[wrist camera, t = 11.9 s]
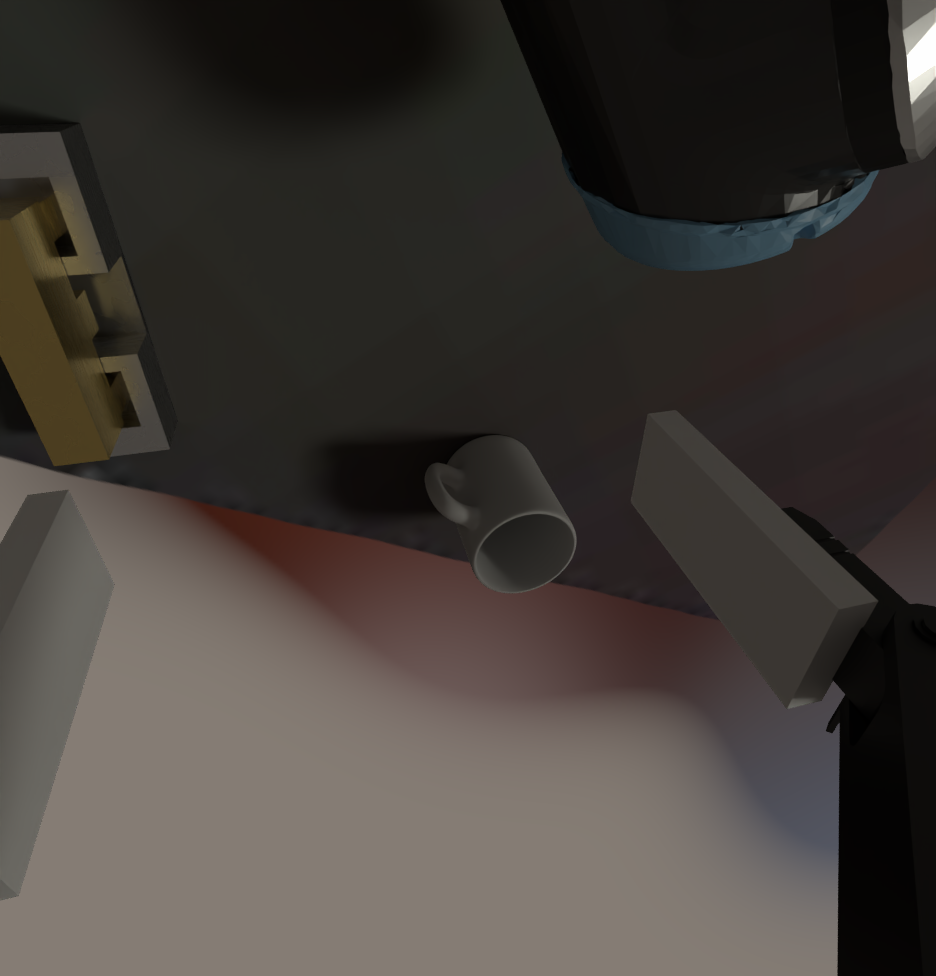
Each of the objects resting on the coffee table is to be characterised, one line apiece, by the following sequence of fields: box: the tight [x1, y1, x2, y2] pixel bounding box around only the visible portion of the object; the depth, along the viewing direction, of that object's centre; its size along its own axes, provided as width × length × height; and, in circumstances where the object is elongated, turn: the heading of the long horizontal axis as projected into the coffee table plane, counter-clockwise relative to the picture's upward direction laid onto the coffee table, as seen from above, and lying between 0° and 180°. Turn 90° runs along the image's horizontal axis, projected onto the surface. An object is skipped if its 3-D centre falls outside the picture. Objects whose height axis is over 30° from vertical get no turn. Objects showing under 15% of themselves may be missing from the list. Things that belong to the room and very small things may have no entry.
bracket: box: [0, 123, 178, 457], centre depth 37 cm, size 19×7×4 cm, turn 0°
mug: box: [425, 435, 576, 593], centre depth 50 cm, size 12×8×11 cm
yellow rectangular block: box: [0, 196, 126, 466], centre depth 35 cm, size 14×3×7 cm, turn 0°
